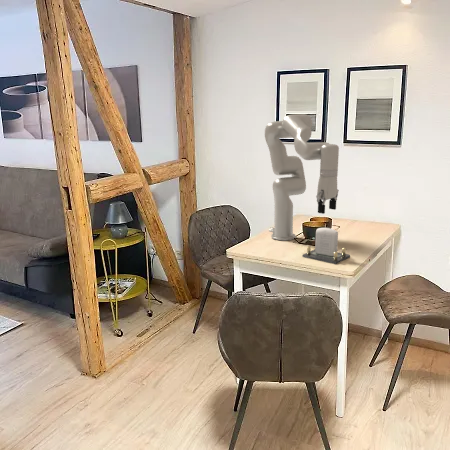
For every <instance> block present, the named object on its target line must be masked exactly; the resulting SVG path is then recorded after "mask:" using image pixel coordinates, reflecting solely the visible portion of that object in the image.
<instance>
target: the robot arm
mask: <svg viewBox="0 0 450 450" xmlns="http://www.w3.org/2000/svg"><path fill="white" fill-rule="evenodd" d="M312 127H313V120H312V117H311V116H309V114H306V113H305V114H304V113H301V114H295V113H294V114H289V115H287V116H285V117H284V118H283V119H282V120H278V121H277V120H276V121H272V122H268V123H267V124H266V126H265V129H264V139H265V142H266V144H267V145H266V146H267V148H268V150H269V156H270V163H271V167H272V172H273V173H274V175H275V176H284V177H280V178H277V179H275V180H274V181H273V183H272V192H273V200H274V202H273V203H274V225H273V226H274V227H270V228H269V229H268V232H270V233H272V234H271V239H273V240H275V241H291V240H294V238H295V239H296V234H295V233H293V231H294V229H293V228H294V227H293V224H294V204H293V201H292V199H291V198H290V197H291V196H298V195H299V196H300V195H303V194H304V193H305V192H306V189H307V181H306V176H305V170H304V169H305V168H304V165H303V161H302V159H303V160H305V161H315V160H318V161H319V160H320V165H319V166H320V168H319V169H320V170H319V178H318V184H317V191H316V192H317V193H316V196H315V197H316V202H317V213H318V214H322V215H324V214H325V213H326V201H327V200H328V201H329V202H328V208H329V210H334V211H335V210H336V209H337V200H338V196H339V189H338V175H339V174H338V173H339V171H338V170H339V156H340V155H339V152H340V150H339V149H340V148H339V147H340V146H339V145H337V144H333V143H329V142H325V141H324V142H322V141H321V142H308V141H309V140H311V138H312ZM289 138H293V139H294V141H293V145H294V150H295V152H296V153H297V154H298V155H299V156H297V155H288V152H287V147H286V146H285V144H284V142H282V140H281V139H289ZM300 157H301V158H300ZM289 175H291V176H289ZM285 176H287V177H285Z"/></svg>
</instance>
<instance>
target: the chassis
mask: <svg viewBox="0 0 450 450" xmlns="http://www.w3.org/2000/svg"><path fill="white" fill-rule="evenodd" d="M311 248H312V247H311V246H309V245H308V246H306V253H303V254H302V258H306V259H310V260H315V261H320V262H324V263H329V264H334V265H337V264H339V263H341V262H343V261H345V260H347V259H349V258H350V257H351V254H348V253H347V247H342V249H341V251H342V252H338V251H337V252H334V256H328V255H322V254H317V253H315V249H313V250H312V249H311Z"/></svg>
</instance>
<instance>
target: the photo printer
mask: <svg viewBox="0 0 450 450" xmlns="http://www.w3.org/2000/svg"><path fill="white" fill-rule="evenodd" d="M338 240H339V232H338V231H337V230H336V229H333V228H331V227H318V228H316V231H315V244H314V245H315V246H314V248H315V253H317V254H322V255H328V256H334V252H338V243H339V241H338Z"/></svg>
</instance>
